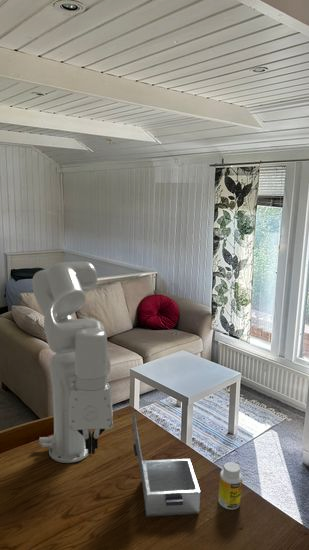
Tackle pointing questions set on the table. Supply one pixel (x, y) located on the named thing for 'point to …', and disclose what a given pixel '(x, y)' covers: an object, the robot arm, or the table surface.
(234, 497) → the supplement bottle
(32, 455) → the table surface
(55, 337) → the robot arm
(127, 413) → the table surface
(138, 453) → the lid
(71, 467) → the table surface
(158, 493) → the cooker pot
